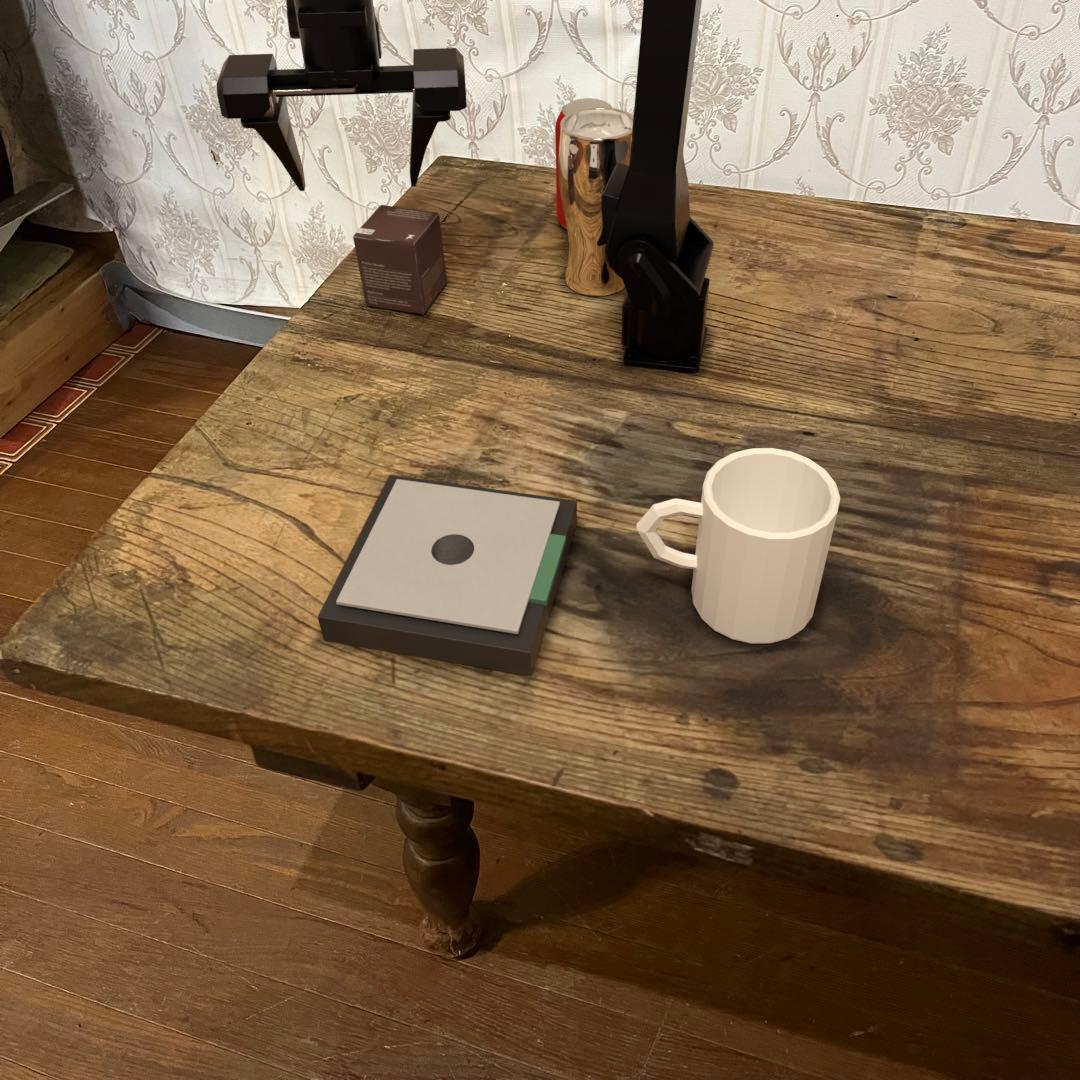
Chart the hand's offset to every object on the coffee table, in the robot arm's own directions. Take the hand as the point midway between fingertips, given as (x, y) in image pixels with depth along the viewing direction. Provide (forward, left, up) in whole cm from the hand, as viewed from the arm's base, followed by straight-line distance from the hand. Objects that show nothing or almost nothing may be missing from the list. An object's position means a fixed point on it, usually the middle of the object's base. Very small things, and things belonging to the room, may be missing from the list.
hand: (358, 186), depth 86 cm
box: (-2, -3, -13) cm, 13 cm away
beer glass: (-19, -9, -13) cm, 24 cm away
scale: (-17, +31, -12) cm, 37 cm away
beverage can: (-16, -19, -13) cm, 28 cm away
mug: (-35, +29, -13) cm, 47 cm away
